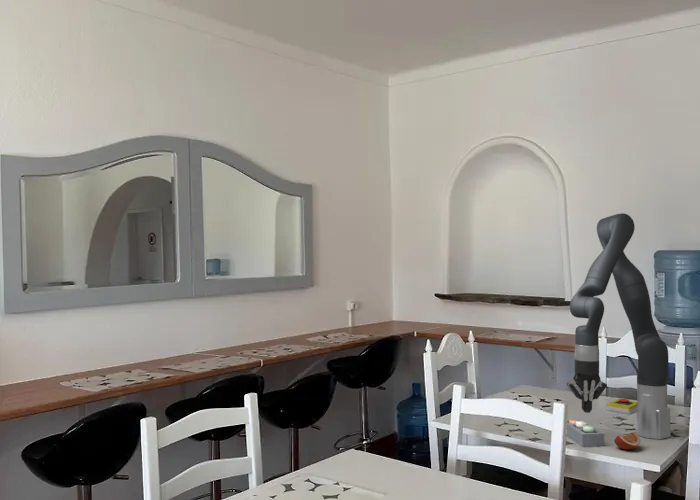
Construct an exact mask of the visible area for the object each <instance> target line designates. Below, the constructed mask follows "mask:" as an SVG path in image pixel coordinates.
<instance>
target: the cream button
mask: <svg viewBox="0 0 700 500" xmlns="http://www.w3.org/2000/svg"><path fill="white" fill-rule="evenodd" d="M587 424H588V422H587V421H585V420H582V421H576V428H578V429H580V428H583V426H584V425H587Z"/></svg>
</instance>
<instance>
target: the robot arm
mask: <svg viewBox="0 0 700 500" xmlns="http://www.w3.org/2000/svg"><path fill="white" fill-rule="evenodd" d="M596 233H597V237H598V240H599V242H600V244H601V247H602V249H603V250H602V251H601V252H600V253H599V254H598V256H597V257H596V258H595V259H594V261H593V262H592V264H591V266H590V267H589V268H588V271H587V274H586V276H585V279H584V282H583V283H582V285H581V286H580V287H579V288H578V289H577V291H576V292H575V294H574V295H573V296H572V298H571V300H570V303H569V312H570V313H571V314H570V315H572V316H573V317H574V318H578V319H579V318H580V319H588V320H587V322H586V324H583V325H578V326H577V327H576V328H575V333H574V334H575V341H574V342H575V345H574V346H575V347H574V355H573V358H574V376H573V378H572V379H573V380H571V381H570V382H567V383H566V386H567V387H568V388H569V390H570V391H571V393H572V394H573V395H574V396H575V397H576V398H577V399H579V400H581V411H583V412H584V413H587V414H589V413H591V411H592V410H593V400H597V399H599V397H600V396H601V395H602V393H603V392H604V391H605V389H607V387H608V384H607V383H605V382H603V381H602V380H601V376H600V349H599V332H600V327H601V323H602V320H603V318H604V313H605V304H604V302H603V300H602V299H601V298H599V296H601V295H604V293H605V292H606V290H607V287H608V284H609V281H610V279H611V277H612V275H613V279H614V282H615V286H616V290H617V293H618V296H619V299H620V302H621V304H622V307H623V310H624V312H625V314H626V317H627V319H628V321H629V324H630V329H631V332H632V336H633V341H634V348H635V352H636V353H635V354H636V355H637V375H636V402H637V412H636V414H637V416H636V419H637V423H636V424H637V430H636V431H637V434H638V436H639V437H642V438H648V439H653V440H654V439H655V440H663V439H667V438H671V408H670V407H668V378H669V348H668V345H667V344H666V343H665V341H663V340H662V338H661V337H660V334H659V332H658V330H657V327H656V325H655V322H654V320H653V319H654V318H653V313H652V304H651V297H650V293H649V289H648V287H647V286H648V285H647V282H646V280H645V277H644V275H643V274H642V272H641V271H640V270H639V268H638V267H637V266H636V265H635V264H634V263H633V262H632V261H630V259H629V257H627V255H626V253H625V249H626V247H628V246H627V245H628V244H629V242H630V240H632V237H633V234H634V233H635V222H634V220H633V218H632V217H631V216H630V215H629V214H627V213H624V212H623V213H622V212H621V213H617V214H612V215H610V216H607V217H603V218H601V219H599V221H598V222H597V225H596ZM577 387H578V389H579V391H578V390H577Z"/></svg>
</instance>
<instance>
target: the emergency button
mask: <svg viewBox="0 0 700 500" xmlns="http://www.w3.org/2000/svg"><path fill="white" fill-rule="evenodd" d="M605 408H606V409H604V411H603V412H604V413H608V414H613V415H620V416H626V417H627V416H630V415H632V414H634V413H635V414H636V413H637V401H632V400H630V399H627V398H619V399H618V398H617V399H615V400H611V401H610V402H607V403H606V407H605Z"/></svg>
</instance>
